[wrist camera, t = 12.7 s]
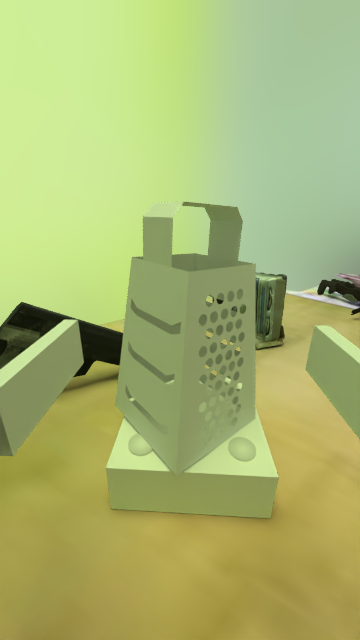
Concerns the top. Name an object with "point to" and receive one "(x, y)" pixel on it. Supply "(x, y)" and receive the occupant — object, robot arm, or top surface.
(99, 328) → the handgun
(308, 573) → the top surface
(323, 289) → the toy
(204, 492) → the pedestal
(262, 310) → the radio
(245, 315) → the grater
